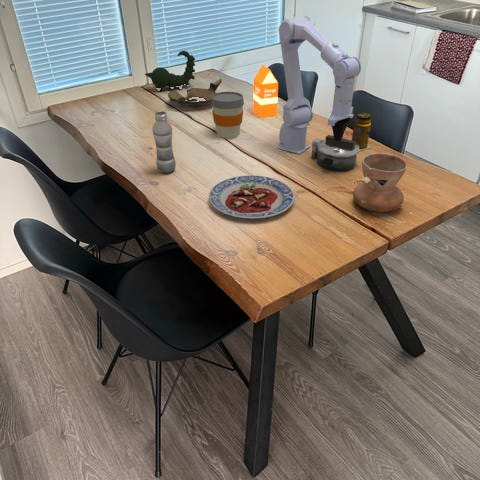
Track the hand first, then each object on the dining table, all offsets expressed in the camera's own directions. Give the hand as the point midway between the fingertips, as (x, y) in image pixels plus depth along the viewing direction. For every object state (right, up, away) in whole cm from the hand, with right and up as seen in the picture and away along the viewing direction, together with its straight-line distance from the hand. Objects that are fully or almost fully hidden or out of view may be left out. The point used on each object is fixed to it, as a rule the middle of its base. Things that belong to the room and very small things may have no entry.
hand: (337, 139), depth 150 cm
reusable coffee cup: (-37, +9, +31) cm, 49 cm away
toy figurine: (-67, +43, +79) cm, 112 cm away
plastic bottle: (-57, -9, +5) cm, 58 cm away
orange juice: (-21, +22, +49) cm, 58 cm away
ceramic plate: (-29, -21, -11) cm, 37 cm away
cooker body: (0, -6, +10) cm, 11 cm away
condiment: (+12, +2, +21) cm, 24 cm away
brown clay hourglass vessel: (+9, -22, -13) cm, 28 cm away
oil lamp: (-51, +30, +62) cm, 86 cm away
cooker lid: (0, -1, +7) cm, 7 cm away
